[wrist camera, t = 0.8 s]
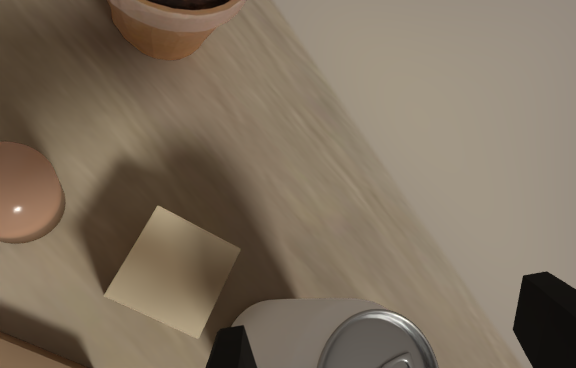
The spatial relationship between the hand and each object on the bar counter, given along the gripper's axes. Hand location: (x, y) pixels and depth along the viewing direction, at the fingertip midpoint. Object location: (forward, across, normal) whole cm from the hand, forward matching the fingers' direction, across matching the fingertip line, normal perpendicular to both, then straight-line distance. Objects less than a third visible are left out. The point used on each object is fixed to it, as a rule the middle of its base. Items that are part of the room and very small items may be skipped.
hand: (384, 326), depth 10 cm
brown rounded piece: (+13, +17, +1) cm, 21 cm away
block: (+12, +10, +7) cm, 17 cm away
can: (+10, +5, +13) cm, 17 cm away
